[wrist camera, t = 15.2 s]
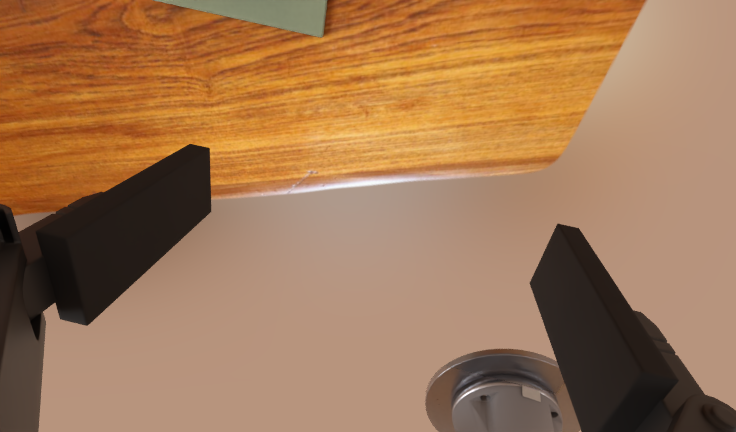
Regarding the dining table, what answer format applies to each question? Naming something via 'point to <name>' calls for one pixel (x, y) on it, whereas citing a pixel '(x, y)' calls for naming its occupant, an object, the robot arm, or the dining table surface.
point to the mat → (267, 12)
